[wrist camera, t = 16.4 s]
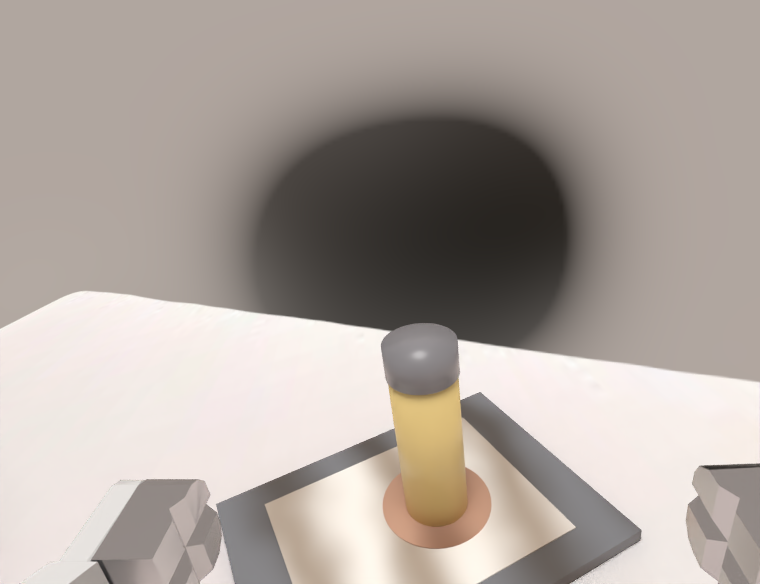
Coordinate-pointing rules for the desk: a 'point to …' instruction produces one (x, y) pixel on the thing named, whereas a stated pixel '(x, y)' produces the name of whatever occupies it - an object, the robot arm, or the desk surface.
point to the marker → (427, 420)
